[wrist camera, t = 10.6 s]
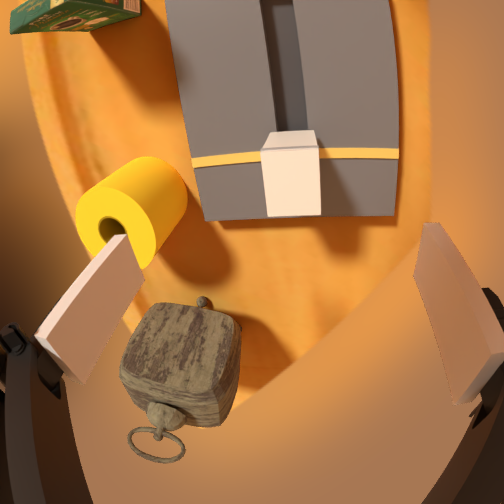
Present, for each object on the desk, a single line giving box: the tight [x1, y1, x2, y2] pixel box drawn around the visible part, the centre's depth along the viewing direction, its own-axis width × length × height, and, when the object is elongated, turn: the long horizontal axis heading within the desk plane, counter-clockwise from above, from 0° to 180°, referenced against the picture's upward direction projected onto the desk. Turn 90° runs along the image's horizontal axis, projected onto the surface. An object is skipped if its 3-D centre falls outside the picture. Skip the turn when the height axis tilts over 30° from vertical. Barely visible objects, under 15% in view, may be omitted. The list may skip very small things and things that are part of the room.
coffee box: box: [10, 0, 142, 34], centre depth 17 cm, size 8×3×13 cm, turn 90°
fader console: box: [165, 0, 399, 221], centre depth 25 cm, size 26×21×3 cm
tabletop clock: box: [119, 296, 242, 463], centre depth 35 cm, size 14×9×25 cm, turn 86°
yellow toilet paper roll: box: [75, 157, 188, 269], centre depth 32 cm, size 10×10×9 cm
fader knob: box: [260, 130, 321, 217], centre depth 25 cm, size 5×4×10 cm
